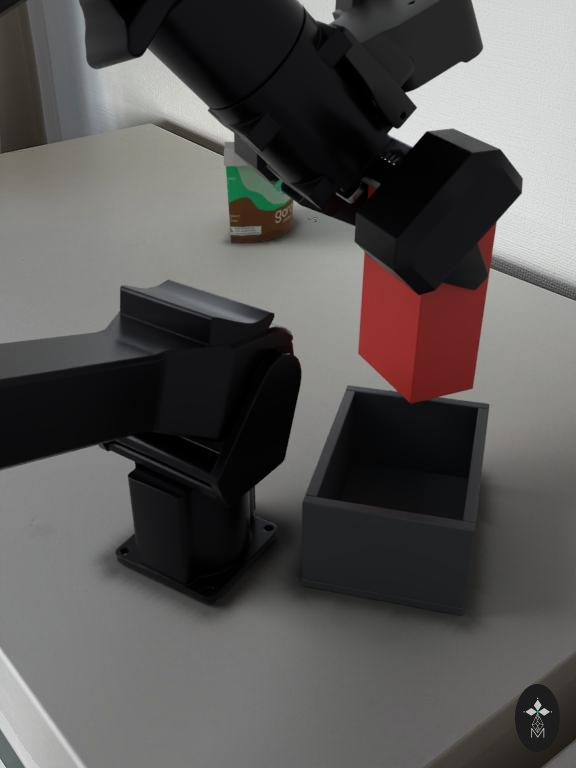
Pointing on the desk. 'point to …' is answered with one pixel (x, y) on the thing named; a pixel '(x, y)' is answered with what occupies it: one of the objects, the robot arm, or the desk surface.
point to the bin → (396, 500)
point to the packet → (422, 330)
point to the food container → (254, 202)
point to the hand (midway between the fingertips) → (446, 259)
